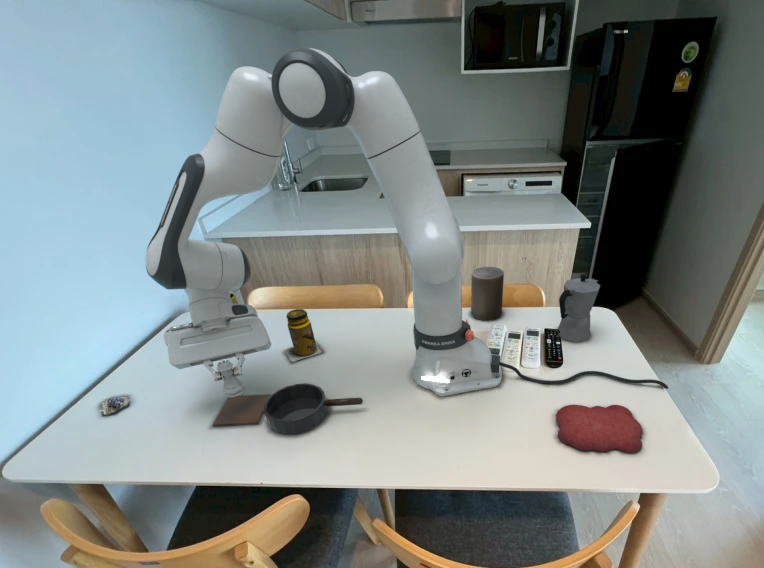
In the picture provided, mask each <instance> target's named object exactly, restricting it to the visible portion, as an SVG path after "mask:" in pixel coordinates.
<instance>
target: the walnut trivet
mask: <svg viewBox="0 0 764 568" xmlns="http://www.w3.org/2000/svg"><path fill="white" fill-rule="evenodd" d="M271 395H272V394H270V393H268V394H267V393H266V394H250V395H249V394H247V395H240V396H238V397H235V398H230V397H227V399H226V400H225V402H224V404H223V405H222V407H221V409H220V411H219V412H218V415H217V416H216V418H215V419H214V421H213V423H212V427H215V428H217V427H232V426H249V425H259V423H260V421H261V419H262V417H263V414H264V404H265V402H266V400H267V399H268V398H269V397H270V396H271Z"/></svg>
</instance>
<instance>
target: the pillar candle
mask: <svg viewBox="0 0 764 568" xmlns="http://www.w3.org/2000/svg"><path fill="white" fill-rule="evenodd" d="M470 274H471V278H470V281H471V288H470V294H471V296H470V298H471V299H470V314H471V316H472V317H473V318H474V319H476V320H480V321H485V322H486V321H494V320H497V319H500V318H501V316H502V315H503V296H504V277H505V271H504V270H503V269H501V268H499V267H496V266H489V265H488V266H481V267H477V268H474V269H473V270H472V271H471V273H470Z"/></svg>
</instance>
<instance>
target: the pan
mask: <svg viewBox="0 0 764 568" xmlns="http://www.w3.org/2000/svg"><path fill="white" fill-rule="evenodd" d="M270 395H271V396H270V397H269V398H268V399H267V400H266V402H265V404H264V412H263V414H264V416H265V418H266V421H267V424H268V426H269V428H270V429H271V430H272V431H274V432H275V433H277V434H279V435H285V436H295V435H301V434H304V433H308V432H310V431H312V430H314V429H315V428H318V426H320V425H321V424H322V423H323V422H324V421H325V420H326V418H327V416H328V414H329V406H325V400H326V399H327V397H326V393H325V390H324V389H323V388H321V386H318V385H316V384H314V383H309V382H303V383H301V382H300V383H293V384H290V385H286V386H284V387H281V388H279V389H278V390H276V391H274V392H273V393H271V394H270Z"/></svg>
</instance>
